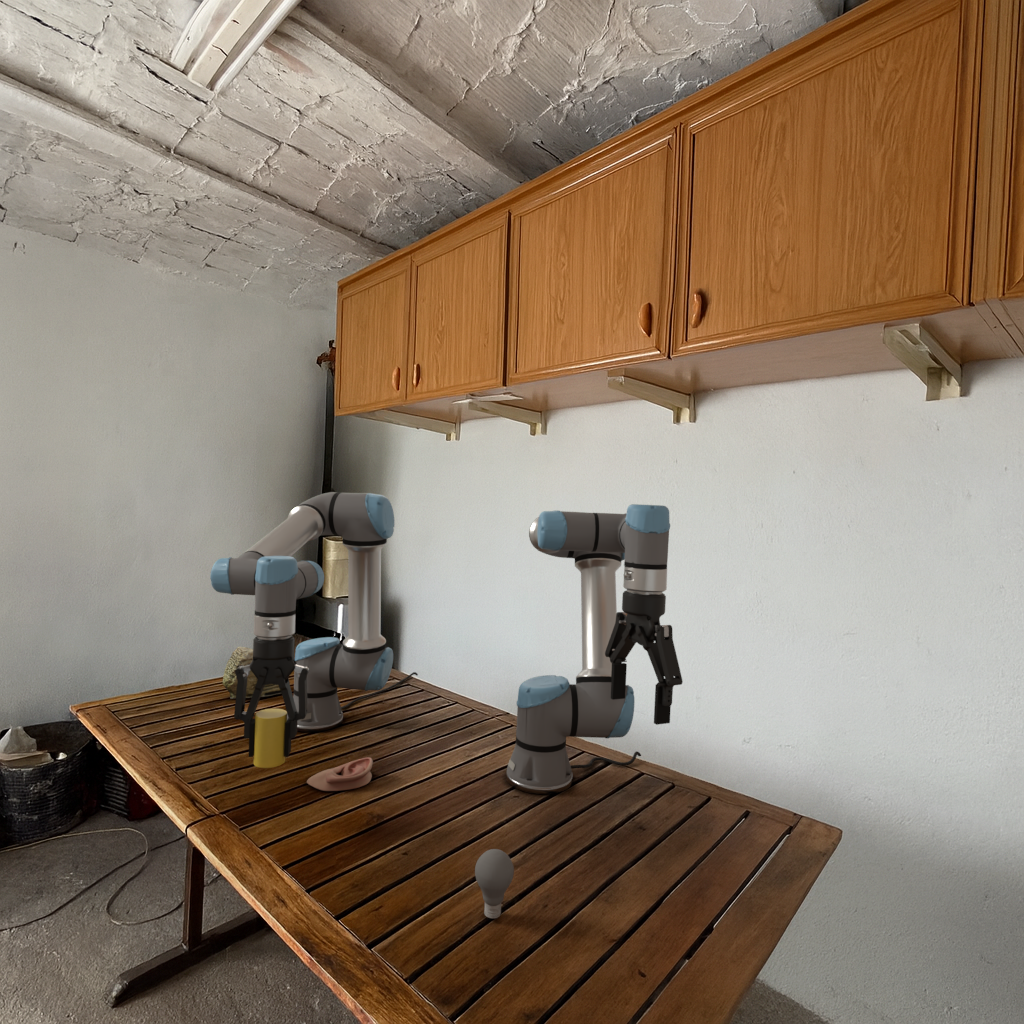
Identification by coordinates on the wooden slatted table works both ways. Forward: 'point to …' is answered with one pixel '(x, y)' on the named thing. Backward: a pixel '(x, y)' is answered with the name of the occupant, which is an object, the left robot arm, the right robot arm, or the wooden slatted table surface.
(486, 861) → the light bulb
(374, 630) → the left robot arm
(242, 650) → the fossil
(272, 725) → the cylinder
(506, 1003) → the wooden slatted table surface
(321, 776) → the anatomical model
